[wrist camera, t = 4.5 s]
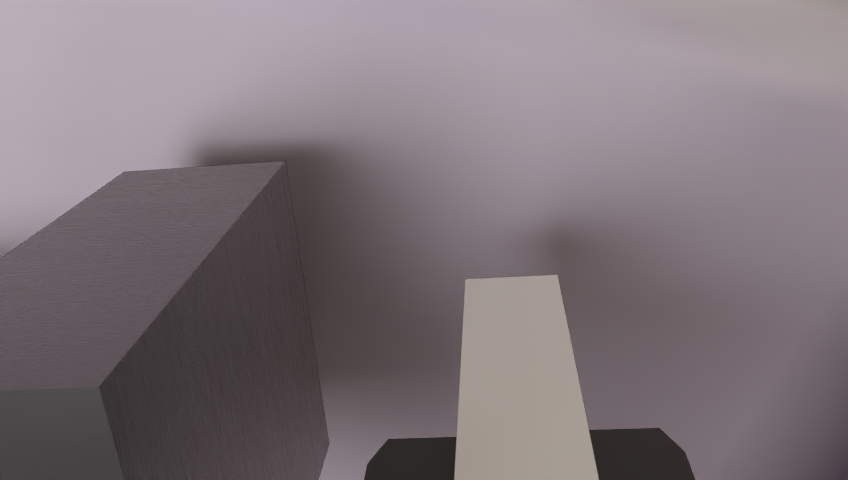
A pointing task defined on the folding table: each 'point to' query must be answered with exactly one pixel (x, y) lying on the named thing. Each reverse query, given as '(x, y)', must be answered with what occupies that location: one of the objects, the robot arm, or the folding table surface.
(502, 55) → the folding table surface
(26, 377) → the dark grey block
